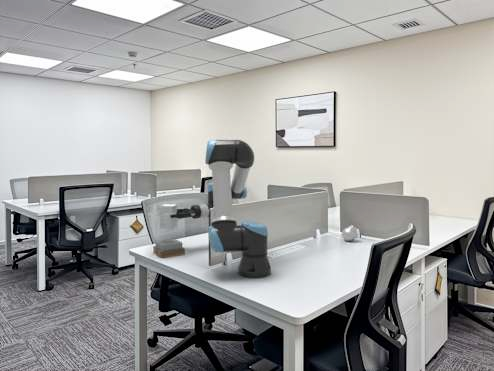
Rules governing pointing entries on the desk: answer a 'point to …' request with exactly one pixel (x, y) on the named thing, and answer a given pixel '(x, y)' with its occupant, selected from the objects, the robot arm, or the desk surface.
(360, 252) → the desk surface
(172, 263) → the desk surface
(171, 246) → the charcoal top block
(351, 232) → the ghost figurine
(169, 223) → the supplement box
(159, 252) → the walnut base block
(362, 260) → the desk surface
